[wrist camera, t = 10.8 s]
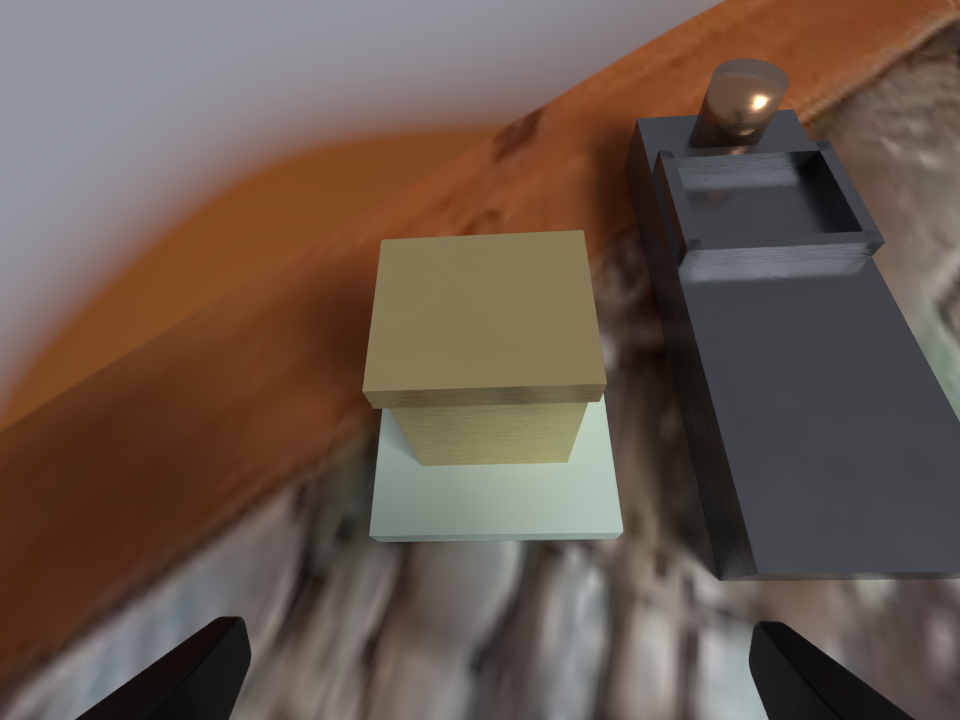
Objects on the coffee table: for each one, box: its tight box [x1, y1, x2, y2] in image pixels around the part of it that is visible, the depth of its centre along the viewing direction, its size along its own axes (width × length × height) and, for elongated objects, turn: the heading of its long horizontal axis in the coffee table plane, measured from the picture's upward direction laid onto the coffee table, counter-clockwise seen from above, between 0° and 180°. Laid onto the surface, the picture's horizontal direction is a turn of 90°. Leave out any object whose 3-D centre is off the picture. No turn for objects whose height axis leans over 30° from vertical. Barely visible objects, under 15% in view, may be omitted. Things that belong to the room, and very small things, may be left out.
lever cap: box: [362, 230, 607, 466], centre depth 15 cm, size 5×6×8 cm
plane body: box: [625, 59, 960, 581], centre depth 19 cm, size 22×8×6 cm, turn 0°
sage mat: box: [369, 395, 623, 542], centre depth 19 cm, size 9×9×2 cm
